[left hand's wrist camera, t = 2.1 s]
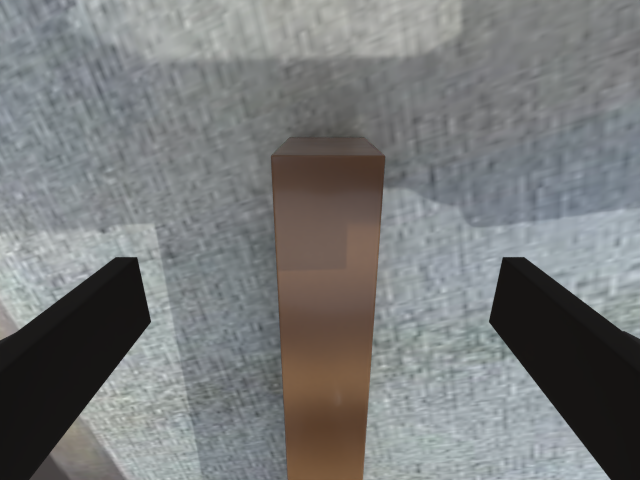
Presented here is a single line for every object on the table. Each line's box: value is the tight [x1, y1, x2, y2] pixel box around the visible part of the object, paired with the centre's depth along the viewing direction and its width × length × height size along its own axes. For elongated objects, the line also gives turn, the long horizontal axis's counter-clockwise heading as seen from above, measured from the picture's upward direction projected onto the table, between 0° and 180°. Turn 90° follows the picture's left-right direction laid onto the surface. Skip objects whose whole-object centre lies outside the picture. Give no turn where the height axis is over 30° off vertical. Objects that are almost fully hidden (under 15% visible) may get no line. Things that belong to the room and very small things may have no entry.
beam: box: [271, 137, 385, 480], centre depth 30 cm, size 54×5×9 cm, turn 0°
